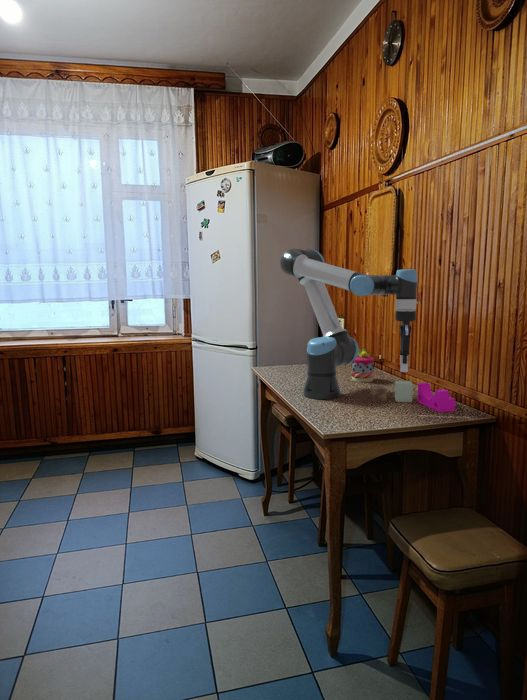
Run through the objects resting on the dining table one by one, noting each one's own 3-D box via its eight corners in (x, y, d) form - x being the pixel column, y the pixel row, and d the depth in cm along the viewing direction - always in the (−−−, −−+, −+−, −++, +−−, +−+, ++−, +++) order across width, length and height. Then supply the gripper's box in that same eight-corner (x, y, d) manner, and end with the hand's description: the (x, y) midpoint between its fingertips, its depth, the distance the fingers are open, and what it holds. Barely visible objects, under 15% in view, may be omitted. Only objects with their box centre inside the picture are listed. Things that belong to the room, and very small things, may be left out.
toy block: (454, 411, 166) (455, 390, 165) (438, 412, 165) (439, 391, 164) (432, 401, 181) (433, 382, 180) (417, 402, 180) (418, 383, 179)
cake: (378, 382, 216) (379, 350, 214) (360, 384, 211) (360, 351, 209) (364, 378, 225) (365, 347, 223) (346, 380, 221) (346, 348, 219)
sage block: (395, 401, 180) (396, 383, 179) (394, 397, 186) (395, 380, 185) (412, 402, 179) (412, 384, 178) (410, 398, 185) (410, 381, 184)
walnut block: (373, 401, 181) (373, 388, 180) (370, 398, 186) (370, 386, 185) (386, 401, 181) (386, 388, 180) (383, 398, 186) (383, 386, 185)
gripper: (418, 311, 171) (416, 374, 174) (413, 309, 183) (412, 368, 187) (397, 311, 172) (395, 374, 175) (394, 309, 185) (392, 368, 188)
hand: (404, 371), depth 181 cm, fingers closed
